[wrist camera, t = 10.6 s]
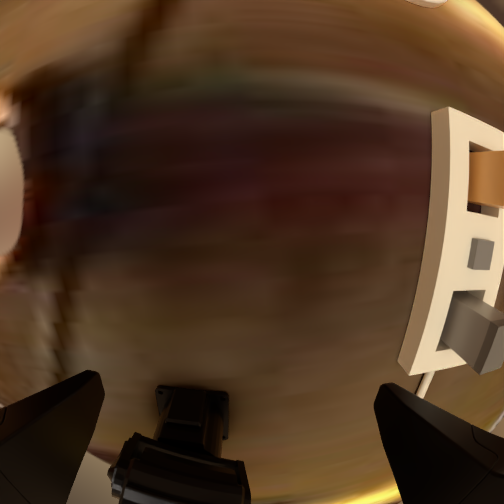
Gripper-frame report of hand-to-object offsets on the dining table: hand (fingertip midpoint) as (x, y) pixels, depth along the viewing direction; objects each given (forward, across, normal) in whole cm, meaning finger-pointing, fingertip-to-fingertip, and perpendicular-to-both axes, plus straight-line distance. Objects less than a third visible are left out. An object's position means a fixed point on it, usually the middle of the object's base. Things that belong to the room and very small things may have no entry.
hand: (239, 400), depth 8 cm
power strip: (+13, -19, +2) cm, 23 cm away
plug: (+13, -19, -9) cm, 25 cm away
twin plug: (+13, -19, +3) cm, 23 cm away
